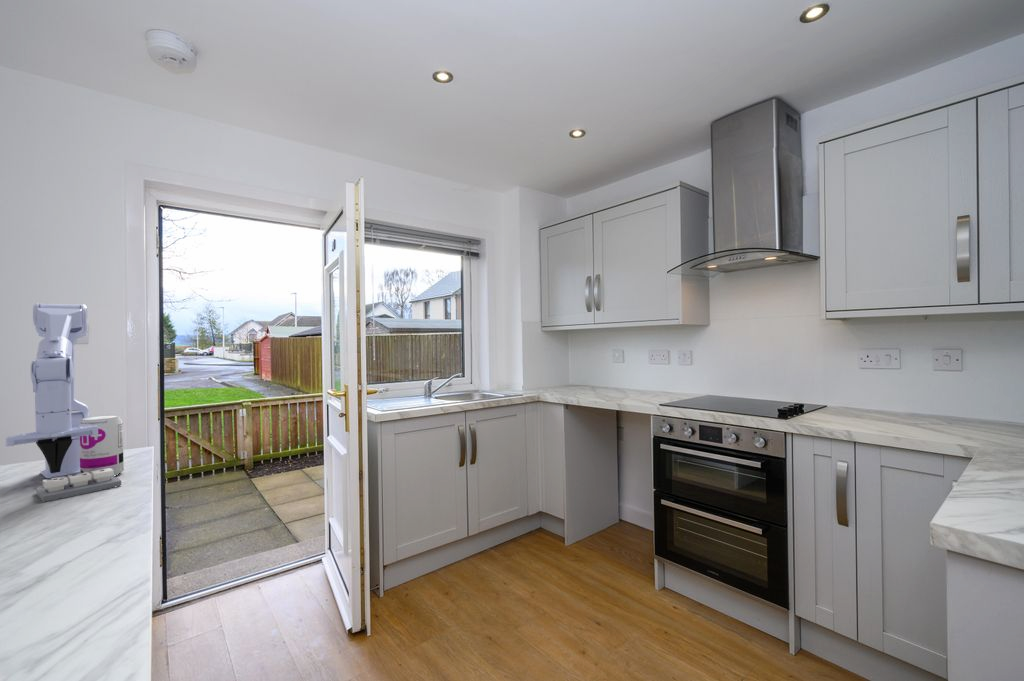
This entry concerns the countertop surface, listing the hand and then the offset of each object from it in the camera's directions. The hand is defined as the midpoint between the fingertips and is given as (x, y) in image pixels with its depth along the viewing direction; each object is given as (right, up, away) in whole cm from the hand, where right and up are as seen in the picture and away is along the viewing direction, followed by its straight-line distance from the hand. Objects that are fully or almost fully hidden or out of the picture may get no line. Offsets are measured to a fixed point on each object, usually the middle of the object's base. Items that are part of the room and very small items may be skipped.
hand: (55, 472), depth 103 cm
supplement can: (-2, -5, +14) cm, 15 cm away
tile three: (0, -5, 0) cm, 5 cm away
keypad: (+2, -5, +3) cm, 6 cm away
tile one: (+5, -4, +6) cm, 9 cm away
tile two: (+2, -5, +3) cm, 6 cm away
